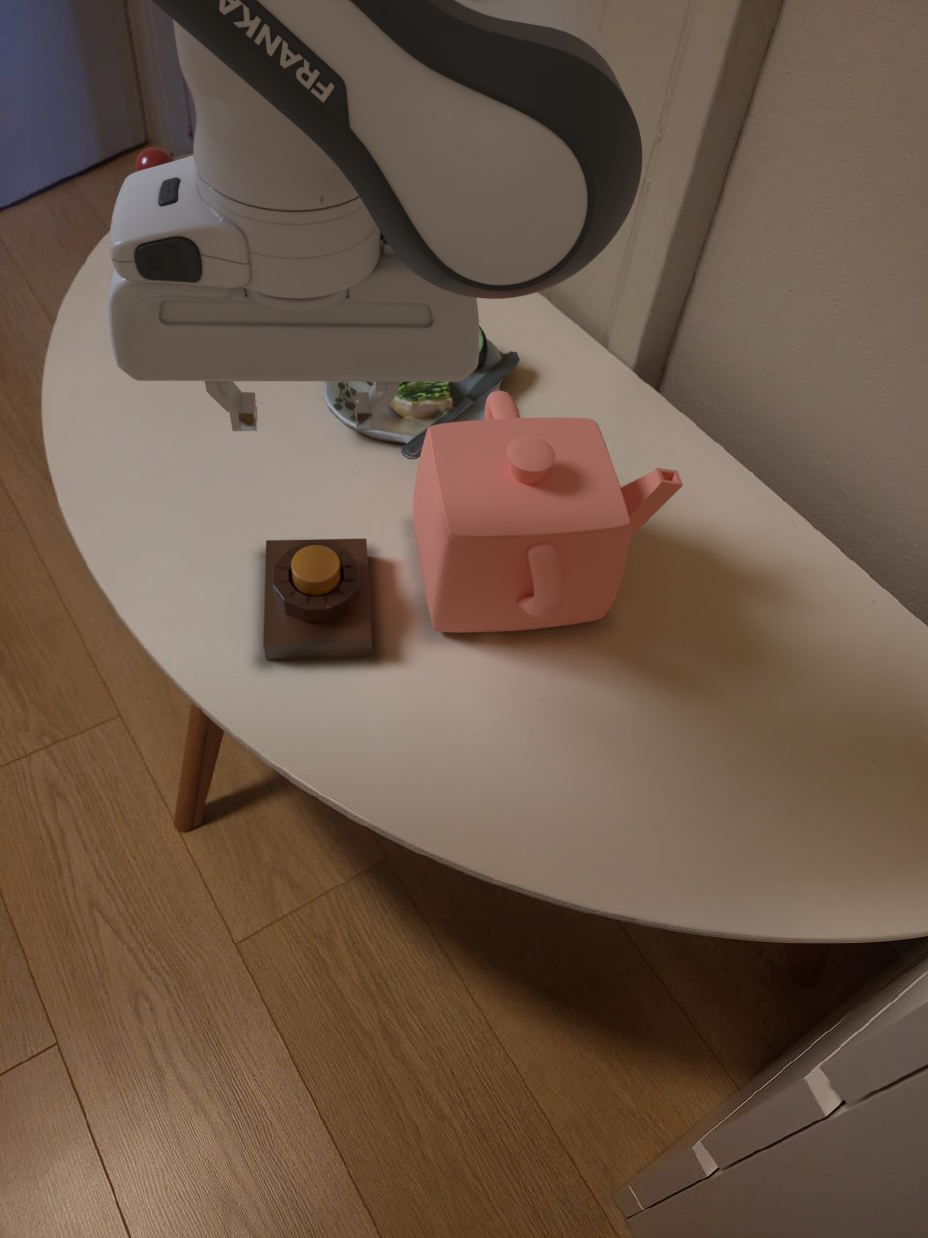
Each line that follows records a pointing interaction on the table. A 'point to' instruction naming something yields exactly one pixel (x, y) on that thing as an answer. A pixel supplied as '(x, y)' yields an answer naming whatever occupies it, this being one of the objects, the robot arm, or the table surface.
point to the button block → (317, 605)
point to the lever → (154, 158)
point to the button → (315, 570)
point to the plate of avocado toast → (426, 400)
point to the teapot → (524, 520)
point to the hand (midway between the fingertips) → (307, 424)
